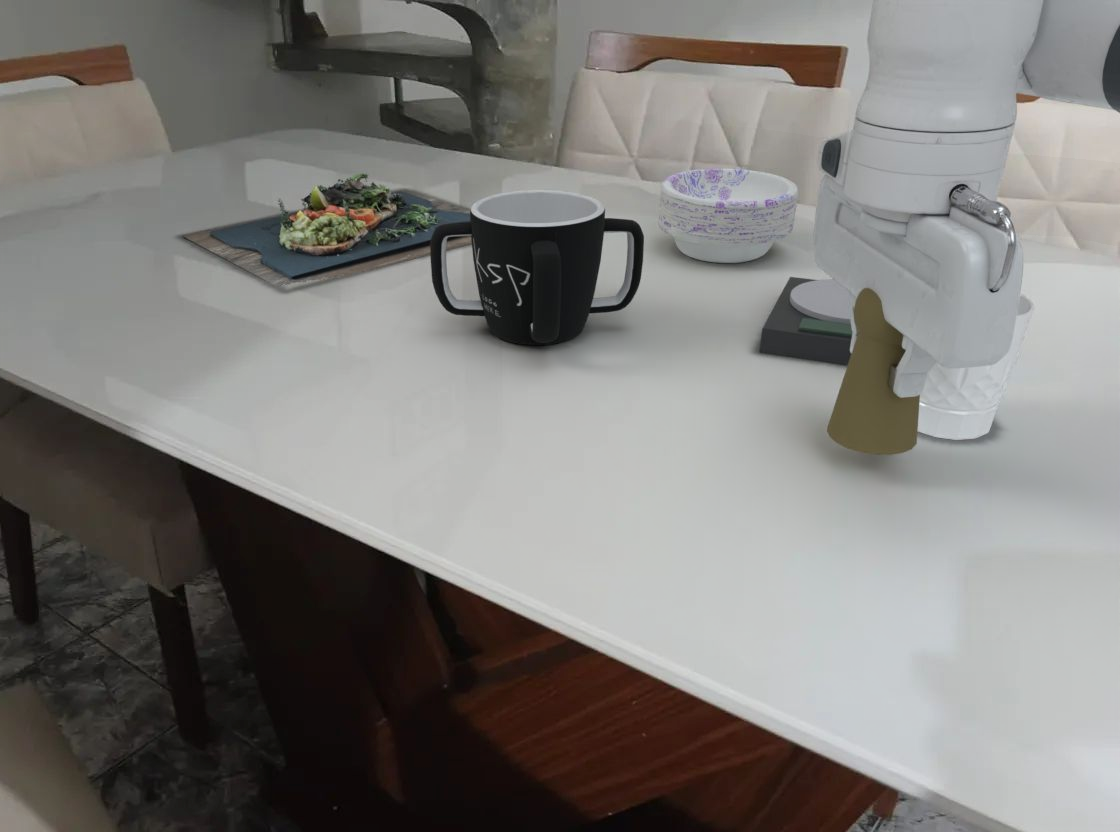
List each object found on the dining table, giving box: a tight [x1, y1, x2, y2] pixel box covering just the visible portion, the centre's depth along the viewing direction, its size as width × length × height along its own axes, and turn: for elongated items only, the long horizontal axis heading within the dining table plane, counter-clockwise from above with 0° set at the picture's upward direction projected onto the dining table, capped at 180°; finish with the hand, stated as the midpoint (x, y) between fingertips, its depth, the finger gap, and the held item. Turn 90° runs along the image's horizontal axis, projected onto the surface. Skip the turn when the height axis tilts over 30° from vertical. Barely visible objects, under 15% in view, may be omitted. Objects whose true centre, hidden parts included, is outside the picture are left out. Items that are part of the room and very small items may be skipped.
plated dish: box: [181, 172, 472, 287], centre depth 121 cm, size 35×28×7 cm
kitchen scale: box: [758, 276, 853, 367], centre depth 90 cm, size 15×13×3 cm
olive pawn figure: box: [826, 288, 920, 456], centre depth 66 cm, size 6×6×11 cm
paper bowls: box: [658, 167, 800, 264], centre depth 111 cm, size 15×15×8 cm
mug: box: [429, 189, 645, 346], centre depth 90 cm, size 16×16×12 cm
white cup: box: [917, 293, 1035, 441], centre depth 73 cm, size 8×8×10 cm
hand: (883, 374), depth 66 cm, fingers closed on olive pawn figure, 4 cm apart
